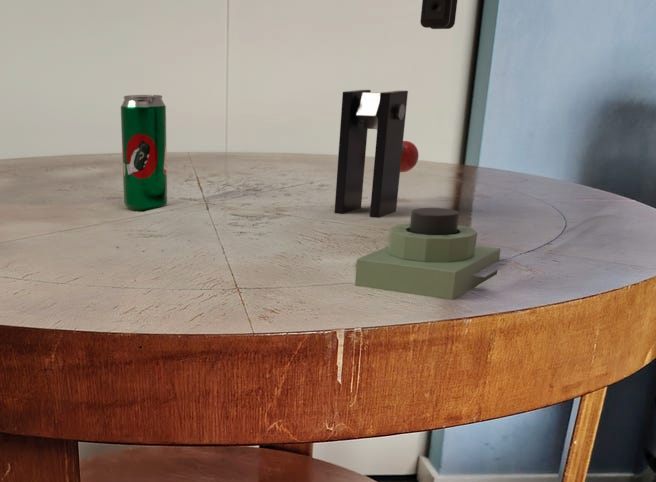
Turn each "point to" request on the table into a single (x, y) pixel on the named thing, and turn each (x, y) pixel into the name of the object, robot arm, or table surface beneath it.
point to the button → (434, 221)
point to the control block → (427, 263)
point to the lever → (369, 120)
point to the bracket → (385, 154)
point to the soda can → (144, 152)
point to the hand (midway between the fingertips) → (437, 28)
